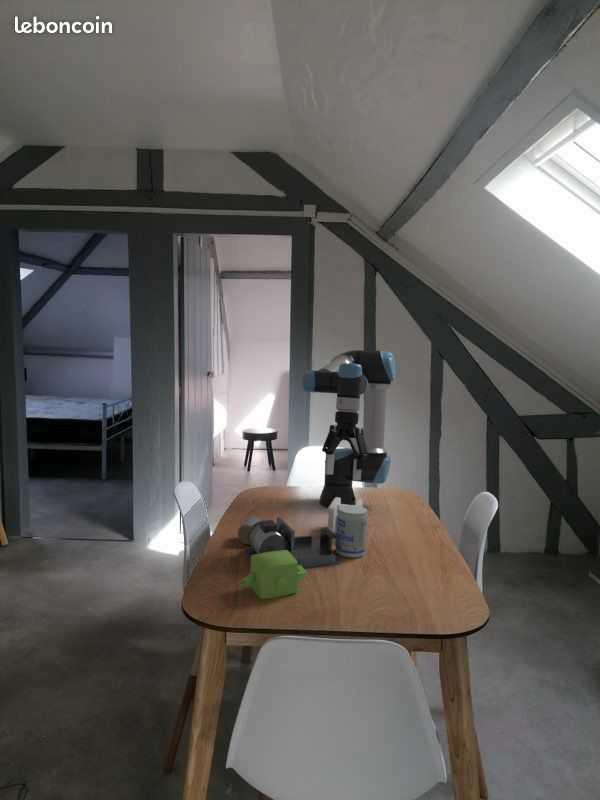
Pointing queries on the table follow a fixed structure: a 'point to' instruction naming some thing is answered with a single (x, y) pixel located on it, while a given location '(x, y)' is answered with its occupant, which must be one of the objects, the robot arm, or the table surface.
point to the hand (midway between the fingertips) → (342, 477)
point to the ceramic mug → (247, 529)
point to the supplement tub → (351, 531)
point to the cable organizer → (334, 512)
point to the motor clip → (291, 543)
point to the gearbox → (274, 574)
